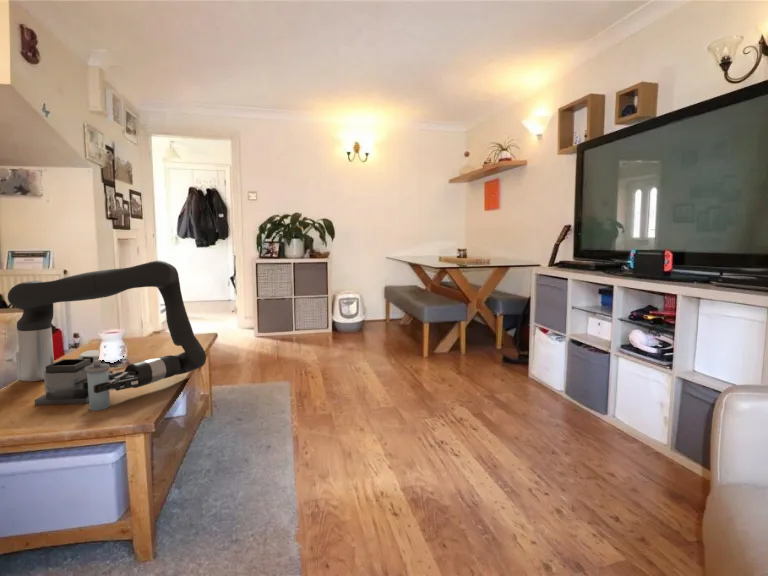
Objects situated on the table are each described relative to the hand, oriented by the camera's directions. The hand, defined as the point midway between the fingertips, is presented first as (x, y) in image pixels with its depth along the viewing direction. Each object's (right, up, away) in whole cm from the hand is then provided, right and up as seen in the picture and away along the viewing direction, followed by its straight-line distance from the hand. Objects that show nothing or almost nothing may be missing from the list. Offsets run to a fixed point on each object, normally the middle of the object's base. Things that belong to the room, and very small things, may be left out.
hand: (89, 387), depth 124 cm
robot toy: (-27, -2, +48) cm, 55 cm away
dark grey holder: (-12, -5, +10) cm, 17 cm away
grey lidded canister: (+1, -6, +3) cm, 7 cm away
